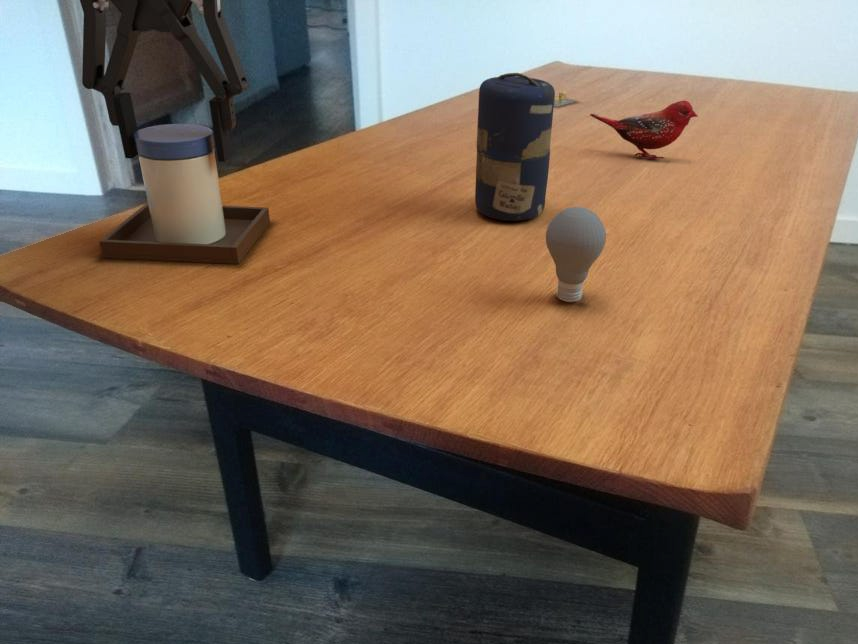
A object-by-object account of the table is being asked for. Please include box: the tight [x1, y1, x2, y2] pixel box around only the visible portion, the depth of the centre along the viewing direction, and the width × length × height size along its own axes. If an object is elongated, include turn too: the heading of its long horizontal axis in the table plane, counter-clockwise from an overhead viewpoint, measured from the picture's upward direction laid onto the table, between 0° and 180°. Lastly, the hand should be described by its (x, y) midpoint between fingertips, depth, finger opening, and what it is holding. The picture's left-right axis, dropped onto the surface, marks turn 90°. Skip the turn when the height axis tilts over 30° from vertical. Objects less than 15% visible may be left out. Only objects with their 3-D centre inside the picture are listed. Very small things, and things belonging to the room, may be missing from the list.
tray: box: [98, 201, 271, 265], centre depth 88 cm, size 15×13×2 cm
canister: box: [474, 72, 556, 222], centre depth 96 cm, size 10×10×18 cm
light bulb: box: [545, 206, 607, 303], centre depth 76 cm, size 6×6×10 cm
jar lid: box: [134, 123, 216, 159], centre depth 83 cm, size 8×8×2 cm
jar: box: [137, 149, 226, 244], centre depth 86 cm, size 8×8×12 cm
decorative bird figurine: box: [589, 100, 698, 160], centre depth 125 cm, size 3×18×10 cm, turn 70°
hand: (179, 156), depth 84 cm, fingers open, 10 cm apart
